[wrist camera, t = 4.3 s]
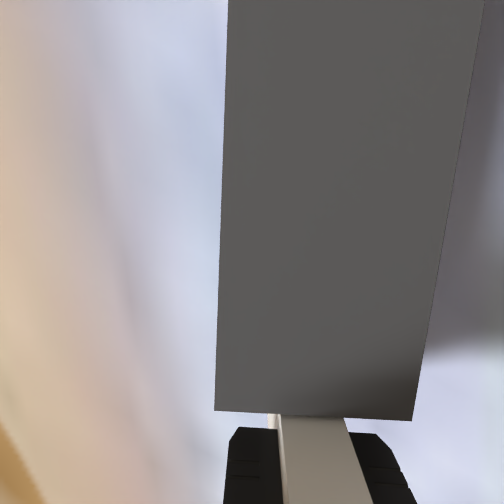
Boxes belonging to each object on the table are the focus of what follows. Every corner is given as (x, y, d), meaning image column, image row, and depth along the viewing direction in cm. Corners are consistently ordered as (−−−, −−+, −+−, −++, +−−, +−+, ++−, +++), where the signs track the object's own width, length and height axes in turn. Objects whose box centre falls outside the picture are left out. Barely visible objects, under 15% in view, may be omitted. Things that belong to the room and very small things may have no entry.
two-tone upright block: (346, 316, 14) (411, 421, 8) (231, 310, 14) (214, 410, 8) (408, -197, 10) (600, -658, 5) (254, -205, 10) (252, -680, 5)
